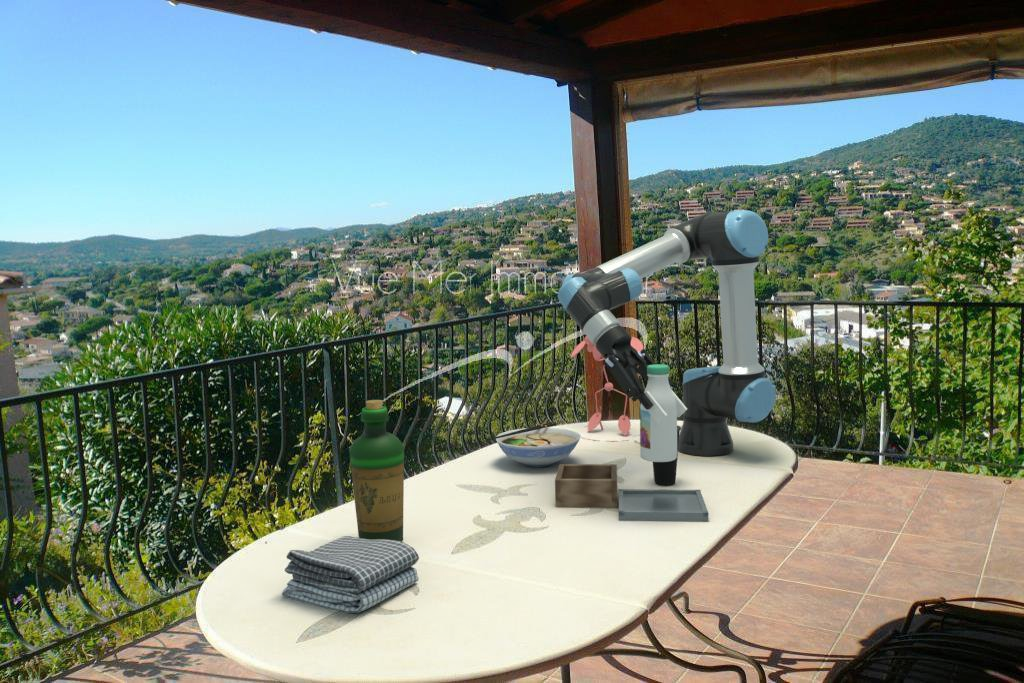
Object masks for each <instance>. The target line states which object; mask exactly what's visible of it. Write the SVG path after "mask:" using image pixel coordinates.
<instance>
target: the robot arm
mask: <svg viewBox="0 0 1024 683" xmlns="http://www.w3.org/2000/svg"><path fill="white" fill-rule="evenodd" d="M768 243H769V232H768V228H767V224H766V223H765V221H764V220H763V218H762V217H760V215H759V214H758V213H756V212H754V211H753V210H752V211H751V210H747V209H746V210H745V209H744V210H743V209H742V210H741V209H739V210H738V209H735V210H729V211H720V212H710V213H707V212H706V213H703V214H700V215H697V216H695V217H692V218H689V219H688V220H686V221H684V222H682V223H680V224H677V225H676V226H674V227H671V228H669V229H667V230H666V231H665V232H664V234H663V236H660V237H659V238H656V239H654V240H652V241H650V242H647V243H645V244H643V245H641V246H639V247H637V248H634V249H632V250H630V251H628V252H626V253H623V254H622V255H619V256H617V257H614V258H612V259H611V260H608V261H606V262H604V263H602V264H600V265H598V266H596V267H593V268H590V269H589V270H586V271H584V272H574V273H571V274H569V275H567V276H566V277H565V278H564V280H563V281H562V284H561V287H560V288H559V290H558V292H557V299H558V300H559V302H560V304H561V305H562V307H563V308H564V310H565V312H567V313H568V315H569V316H570V317H571V318H572V320H574V322H575V323H576V324H577V326H579V328H580V329H581V330H582V332H583V333H584V335H585V336H587V337H588V339H589V340H590V341H591V342H592V343H593V344H594V345H596V349H597V350H598V351H599V352H600V354H601V355H602V356H603V357H604V358H605V359H606V360H604V362H603V365H605V367H606V368H607V369H608V370H609V371H610V372H611V374H612V377H614V379H615V380H616V382H617V383H618V385H619V386H620V387H621V389H622V391H623V393H624V394H626V395H627V398H628V399H631V401H632V402H637V400H638V401H639V402H640V405H641V404H642V405H643V406H644V407H645V408H646V410H647V411H648V412H649V413H650V415H651V416H652V417H653V419H654V420H655V421H656V422H657V424H659V423H660V422H661V421H662V420H663V419H664V418H665V417H666V416H667V414H666V412H665V411H664V410H663V409H662V407H661V406H660V405H659V404H658V402H657V401H656V400H655V399H654V397H653V396H652V395H651V394H650V392H649V391H646V392H645V388H644V386H643V383H642V381H641V380H640V377H639V376H638V374H639V375H640V376H641V377H642V378H643V379H645V380H646V381H647V382H648V376H647V366H648V365H655V364H657V363H656V361H654V360H653V358H652V357H651V356H650V355H649V353H648V352H647V350H646V349H644V348H643V349H642V350H641V351H640V352H639V351H637V350H636V349H635V348H633V347H632V346H631V339H632V336H631V335H630V333H629V332H628V331H627V330H626V329H625V327H624V326H621V322H620V321H619V320H618V319H617V318H616V317H615V315H614V314H613V313H612V312H611V310H614V309H616V308H618V307H620V306H621V307H622V306H623V305H625V304H627V303H631V302H633V301H634V300H635V299H638V298H639V297H641V295H642V293H643V282H642V279H643V278H645V277H648V276H650V275H652V274H654V273H656V272H658V271H661V270H662V269H664V268H667V267H668V266H671V265H673V264H675V263H677V264H683V263H687V262H689V261H691V260H697V259H711V267H712V268H713V269H715V270H716V271H717V272H718V285H719V286H718V289H719V306H720V309H719V310H720V322H721V323H720V324H721V325H720V326H721V342H722V356H723V358H722V362H723V363H722V365H721V366H719V365H718V366H706V367H696V368H690V369H686V370H685V371H684V373H683V376H682V377H683V378H682V383H681V384H682V400H681V399H680V398H679V397H678V395H676V393H675V391H673V389H672V388H671V390H672V392H673V394H674V397H675V400H676V406H677V418H680V417H681V416H683V421H682V426H681V430H680V432H679V445H678V452H681V453H683V454H686V455H689V456H690V455H693V456H697V457H698V456H703V457H717V456H724V455H730V454H731V453H732V452H734V441H733V438H732V435H731V432H730V429H729V425H728V421H727V419H732V420H736V421H739V422H743V423H759V422H761V421H763V420H765V418H767V417H769V414H770V412H771V411H772V410H773V408H774V405H775V402H776V396H777V395H776V394H777V393H776V389H775V388H776V386H774V384H773V383H772V381H770V380H769V379H767V377H765V376H766V374H765V373H766V372H765V367H764V366H763V365H761V364H760V363H759V360H758V339H757V338H758V337H757V319H756V315H757V314H756V299H755V279H754V278H755V275H754V271H755V268H756V267H757V266H758V265H759V264H760V256H761V255H762V254H763V253H764V252H765V251H766V247H768ZM602 356H601V357H602ZM603 357H602V358H603ZM668 381H669V385H670V386H671V385H672V383H673V380H672V379H671V378H670V376H668ZM644 392H645V393H644Z"/></svg>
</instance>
